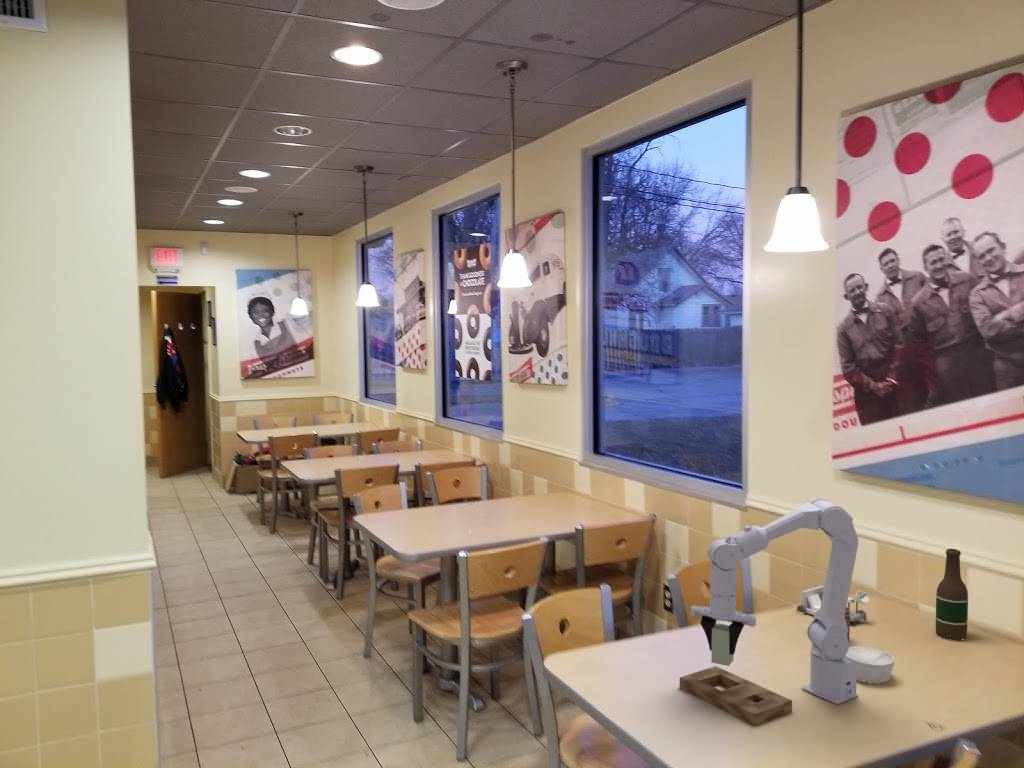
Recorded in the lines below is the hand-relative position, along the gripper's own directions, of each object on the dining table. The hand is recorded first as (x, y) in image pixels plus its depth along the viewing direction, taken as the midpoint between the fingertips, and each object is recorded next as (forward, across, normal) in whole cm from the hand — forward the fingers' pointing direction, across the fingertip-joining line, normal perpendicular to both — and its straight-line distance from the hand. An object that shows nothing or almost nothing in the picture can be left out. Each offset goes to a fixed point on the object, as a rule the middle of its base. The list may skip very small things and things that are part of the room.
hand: (722, 651), depth 180 cm
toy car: (+10, -15, -66) cm, 69 cm away
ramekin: (+10, -28, -26) cm, 40 cm away
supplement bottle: (+10, -18, -47) cm, 51 cm away
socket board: (+9, -4, +3) cm, 10 cm away
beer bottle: (+10, -44, -66) cm, 80 cm away
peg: (+2, 0, 0) cm, 3 cm away
